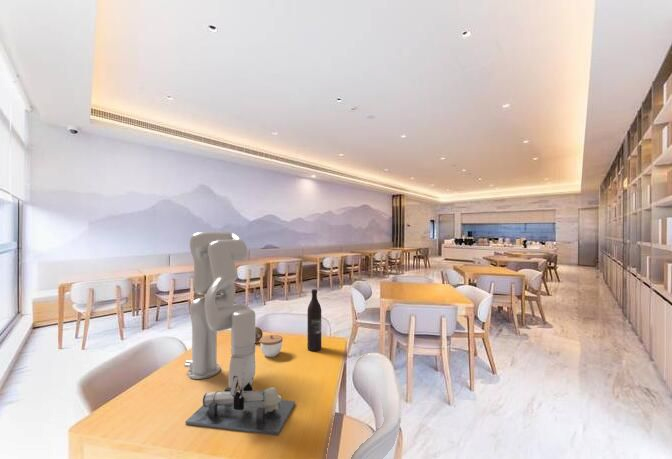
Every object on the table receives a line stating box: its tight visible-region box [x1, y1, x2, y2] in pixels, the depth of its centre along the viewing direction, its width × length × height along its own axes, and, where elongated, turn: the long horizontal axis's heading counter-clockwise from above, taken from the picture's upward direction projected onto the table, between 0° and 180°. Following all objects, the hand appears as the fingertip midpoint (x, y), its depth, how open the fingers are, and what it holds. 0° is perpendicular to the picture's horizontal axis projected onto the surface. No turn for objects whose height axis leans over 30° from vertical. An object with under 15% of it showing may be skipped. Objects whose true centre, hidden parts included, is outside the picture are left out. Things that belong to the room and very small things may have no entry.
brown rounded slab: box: [255, 326, 264, 344], centre depth 159 cm, size 15×3×8 cm, turn 81°
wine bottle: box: [307, 288, 322, 352], centre depth 150 cm, size 7×7×30 cm
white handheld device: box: [202, 386, 282, 412], centre depth 96 cm, size 5×7×25 cm
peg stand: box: [185, 386, 296, 437], centre depth 96 cm, size 30×16×5 cm, turn 80°
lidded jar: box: [259, 334, 283, 358], centre depth 143 cm, size 11×11×9 cm
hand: (243, 403), depth 96 cm, fingers closed on white handheld device, 5 cm apart
